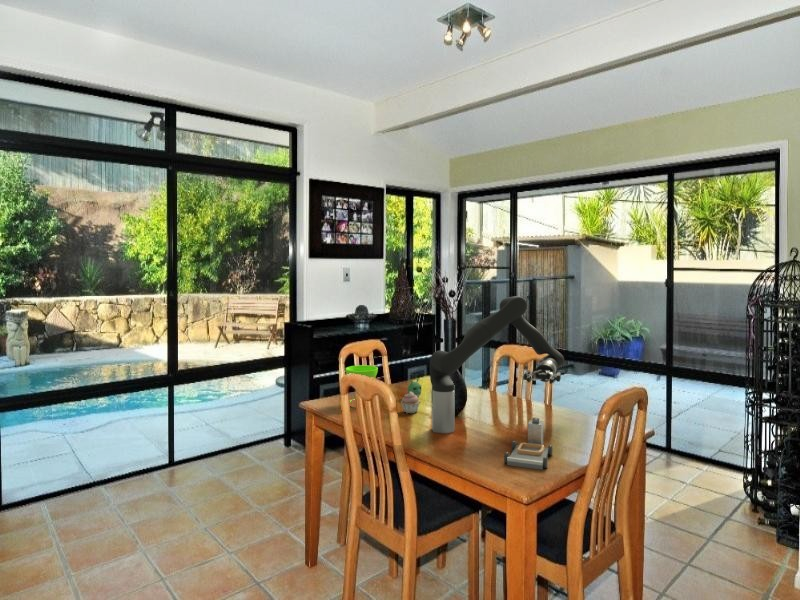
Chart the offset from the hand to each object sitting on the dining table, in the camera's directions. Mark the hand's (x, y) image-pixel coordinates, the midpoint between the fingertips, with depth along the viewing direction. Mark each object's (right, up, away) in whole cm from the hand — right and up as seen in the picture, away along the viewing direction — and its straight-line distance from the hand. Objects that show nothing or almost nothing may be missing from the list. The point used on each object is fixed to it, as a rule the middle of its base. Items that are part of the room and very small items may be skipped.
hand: (539, 380), depth 220 cm
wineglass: (-74, -20, +55) cm, 94 cm away
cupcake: (-51, -21, +40) cm, 68 cm away
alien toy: (-48, -19, +66) cm, 83 cm away
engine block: (-4, -24, -8) cm, 25 cm away
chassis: (-9, -25, -22) cm, 35 cm away
